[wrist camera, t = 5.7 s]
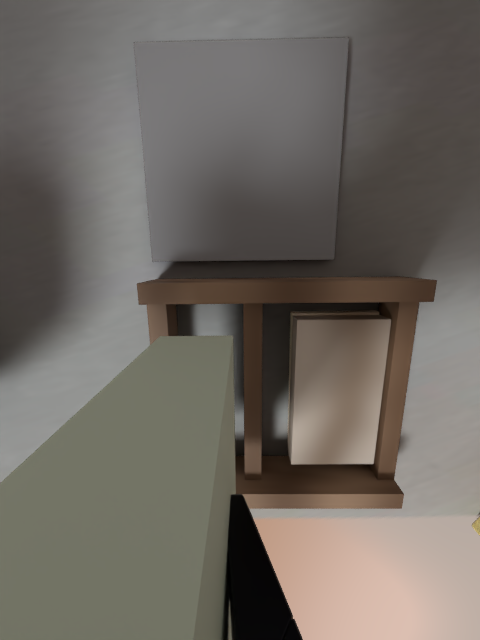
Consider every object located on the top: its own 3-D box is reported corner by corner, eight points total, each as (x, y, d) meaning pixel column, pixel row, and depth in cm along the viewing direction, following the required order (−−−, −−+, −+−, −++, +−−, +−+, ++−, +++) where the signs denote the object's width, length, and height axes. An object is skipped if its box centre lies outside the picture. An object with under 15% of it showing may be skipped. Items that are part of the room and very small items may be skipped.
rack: (172, 468, 18) (159, 508, 15) (157, 278, 15) (136, 283, 12) (375, 468, 18) (401, 508, 15) (399, 276, 15) (436, 280, 12)
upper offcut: (287, 450, 17) (291, 464, 16) (292, 315, 15) (297, 320, 14) (364, 450, 17) (373, 463, 16) (379, 314, 15) (391, 319, 14)
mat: (155, 261, 15) (152, 261, 14) (138, 52, 13) (133, 42, 12) (330, 259, 15) (334, 259, 14) (344, 47, 13) (348, 37, 12)
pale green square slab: (174, 513, 13) (25, 1069, 4) (160, 336, 11) (-203, 669, 2) (236, 513, 13) (221, 1075, 4) (233, 335, 11) (189, 674, 2)
